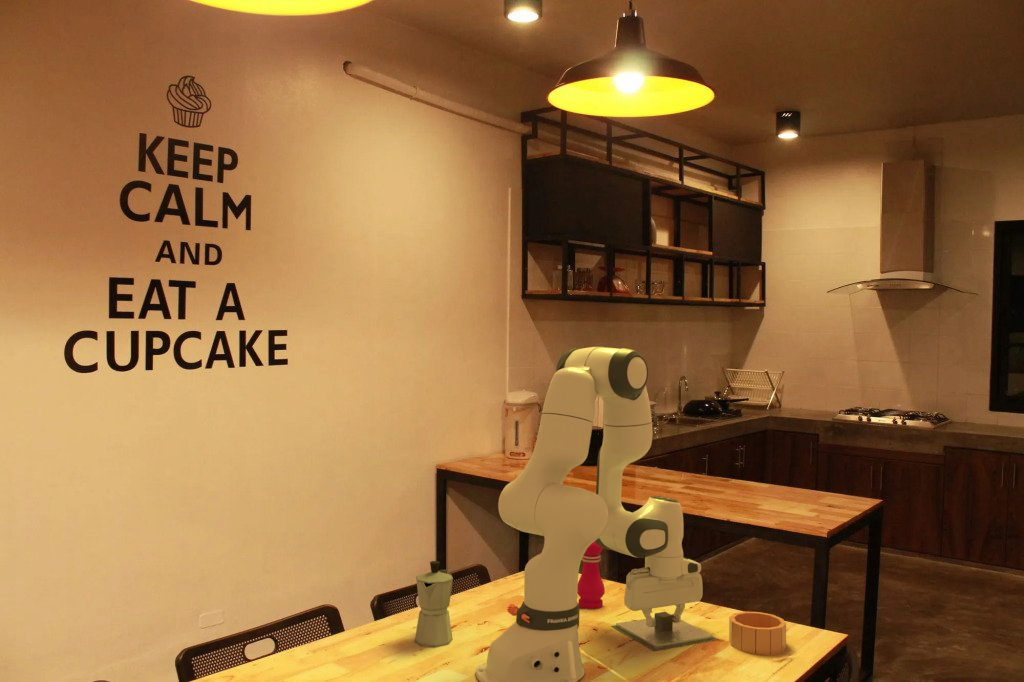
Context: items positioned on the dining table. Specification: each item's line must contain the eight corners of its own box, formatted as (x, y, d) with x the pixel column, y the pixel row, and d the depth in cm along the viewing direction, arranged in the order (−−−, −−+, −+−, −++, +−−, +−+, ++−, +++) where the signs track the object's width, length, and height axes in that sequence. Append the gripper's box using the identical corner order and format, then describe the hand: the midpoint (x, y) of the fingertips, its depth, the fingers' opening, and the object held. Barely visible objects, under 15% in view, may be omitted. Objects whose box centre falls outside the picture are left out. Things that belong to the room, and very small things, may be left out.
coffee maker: (444, 651, 184) (445, 570, 185) (406, 648, 186) (407, 567, 186) (462, 629, 199) (462, 553, 199) (426, 626, 201) (427, 551, 201)
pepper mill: (582, 612, 213) (583, 533, 213) (572, 603, 220) (573, 527, 220) (608, 610, 215) (609, 532, 215) (598, 601, 222) (599, 526, 222)
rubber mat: (653, 653, 185) (653, 651, 185) (610, 628, 201) (610, 626, 201) (718, 641, 193) (718, 639, 193) (671, 618, 209) (671, 616, 209)
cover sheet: (655, 649, 186) (655, 629, 186) (616, 626, 201) (616, 608, 201) (712, 638, 193) (712, 620, 193) (670, 618, 208) (671, 600, 208)
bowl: (754, 659, 182) (755, 632, 182) (718, 641, 193) (719, 615, 193) (796, 651, 187) (797, 624, 187) (759, 634, 198) (759, 609, 198)
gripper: (634, 573, 190) (633, 634, 190) (706, 564, 198) (706, 622, 198) (619, 566, 195) (618, 626, 195) (690, 557, 204) (689, 614, 204)
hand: (663, 624), depth 197 cm, fingers open, 6 cm apart
